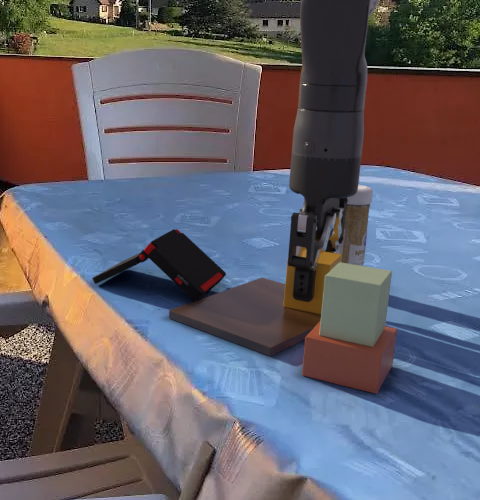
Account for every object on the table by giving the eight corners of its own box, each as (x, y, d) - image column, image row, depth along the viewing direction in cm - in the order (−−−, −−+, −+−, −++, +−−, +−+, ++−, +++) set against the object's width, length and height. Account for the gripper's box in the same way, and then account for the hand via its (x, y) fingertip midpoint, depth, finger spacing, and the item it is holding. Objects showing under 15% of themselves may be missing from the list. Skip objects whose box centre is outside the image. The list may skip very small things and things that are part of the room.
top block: (296, 294, 87) (301, 247, 85) (337, 302, 84) (342, 254, 83) (283, 306, 83) (287, 257, 81) (325, 315, 80) (331, 265, 78)
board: (261, 284, 93) (262, 277, 93) (358, 313, 84) (359, 305, 84) (168, 318, 81) (168, 310, 81) (270, 356, 72) (270, 347, 71)
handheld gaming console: (228, 273, 92) (184, 322, 97) (161, 211, 95) (121, 262, 99) (201, 294, 84) (155, 347, 89) (129, 226, 86) (87, 281, 91)
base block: (322, 350, 73) (326, 313, 72) (392, 365, 70) (397, 328, 69) (301, 375, 68) (305, 336, 67) (376, 394, 64) (381, 353, 63)
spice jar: (363, 295, 90) (375, 191, 86) (326, 292, 91) (336, 189, 87) (359, 283, 94) (371, 184, 91) (324, 281, 95) (334, 182, 91)
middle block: (333, 319, 71) (339, 261, 69) (384, 329, 69) (392, 270, 67) (318, 335, 67) (324, 275, 65) (373, 347, 64) (380, 285, 63)
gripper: (343, 162, 71) (327, 315, 75) (375, 146, 83) (360, 279, 87) (271, 155, 74) (261, 302, 79) (312, 141, 86) (301, 269, 91)
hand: (313, 290), depth 83 cm, fingers open, 7 cm apart
